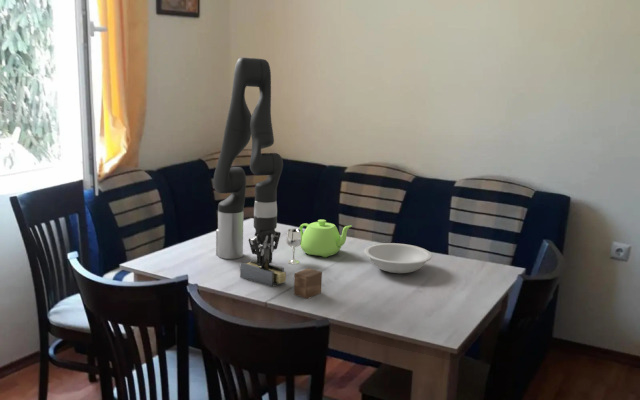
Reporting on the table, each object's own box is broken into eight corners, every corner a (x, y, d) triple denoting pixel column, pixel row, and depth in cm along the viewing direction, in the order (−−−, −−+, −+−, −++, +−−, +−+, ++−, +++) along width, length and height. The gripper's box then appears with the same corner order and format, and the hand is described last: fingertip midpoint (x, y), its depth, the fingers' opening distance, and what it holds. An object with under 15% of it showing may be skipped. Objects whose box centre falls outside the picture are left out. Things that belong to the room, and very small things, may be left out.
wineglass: (299, 265, 230) (300, 233, 228) (283, 263, 231) (284, 231, 229) (302, 260, 236) (303, 229, 233) (287, 258, 237) (288, 227, 234)
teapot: (357, 253, 248) (358, 220, 245) (342, 263, 234) (344, 229, 231) (305, 244, 256) (306, 212, 253) (289, 254, 243) (290, 220, 240)
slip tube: (243, 272, 216) (243, 244, 214) (249, 270, 219) (249, 242, 217) (279, 283, 207) (280, 254, 205) (285, 281, 210) (286, 252, 207)
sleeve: (240, 277, 215) (240, 263, 214) (252, 272, 220) (252, 259, 219) (272, 286, 207) (272, 272, 206) (283, 282, 212) (284, 267, 211)
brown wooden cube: (294, 294, 202) (294, 273, 200) (307, 288, 207) (308, 268, 206) (307, 298, 198) (308, 277, 197) (321, 292, 204) (321, 271, 202)
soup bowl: (368, 257, 243) (368, 240, 241) (431, 263, 238) (433, 246, 237) (358, 277, 220) (359, 259, 218) (429, 284, 215) (430, 266, 214)
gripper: (270, 208, 216) (269, 257, 220) (242, 215, 205) (241, 267, 209) (288, 212, 212) (286, 261, 215) (259, 219, 201) (258, 272, 204)
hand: (264, 264), depth 212 cm, fingers open, 3 cm apart
